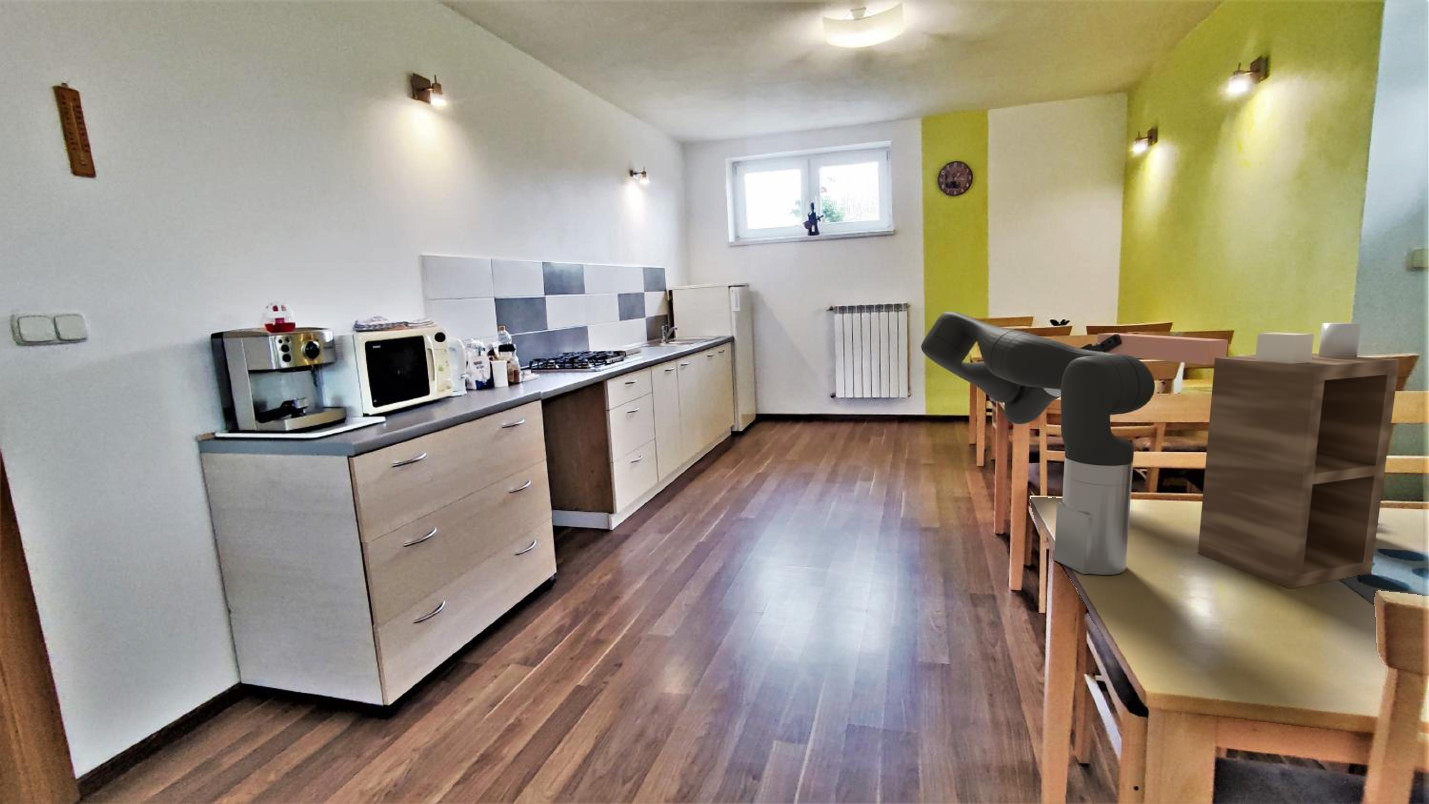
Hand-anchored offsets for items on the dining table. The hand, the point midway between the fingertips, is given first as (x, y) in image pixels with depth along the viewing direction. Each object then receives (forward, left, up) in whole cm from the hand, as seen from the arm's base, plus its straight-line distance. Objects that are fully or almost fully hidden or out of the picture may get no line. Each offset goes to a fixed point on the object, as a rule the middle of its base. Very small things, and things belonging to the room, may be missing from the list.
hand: (1128, 338), depth 128 cm
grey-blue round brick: (+5, -32, -1) cm, 32 cm away
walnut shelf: (0, -31, -33) cm, 45 cm away
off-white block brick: (-5, -32, -1) cm, 32 cm away
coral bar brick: (0, -6, -3) cm, 7 cm away
